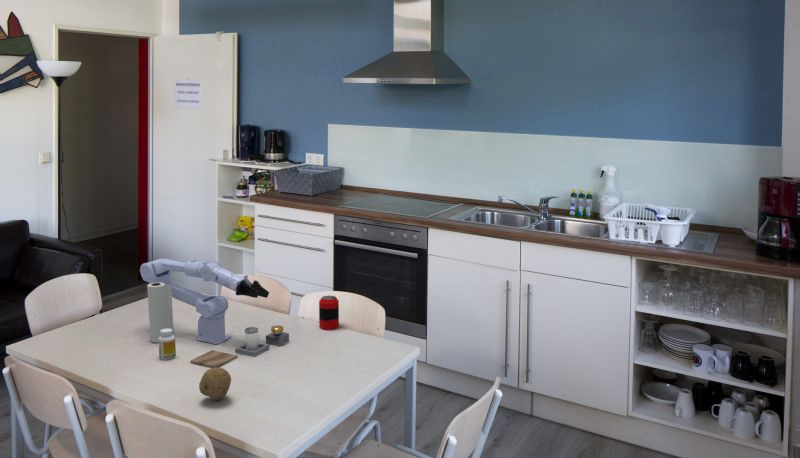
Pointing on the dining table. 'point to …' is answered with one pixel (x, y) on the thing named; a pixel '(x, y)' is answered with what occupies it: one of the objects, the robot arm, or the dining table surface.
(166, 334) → the supplement bottle
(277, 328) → the plunger
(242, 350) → the collar
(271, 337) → the plunger base
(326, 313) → the soda can
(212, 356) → the pad
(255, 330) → the cylinder
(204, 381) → the potato
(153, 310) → the paper towel roll
